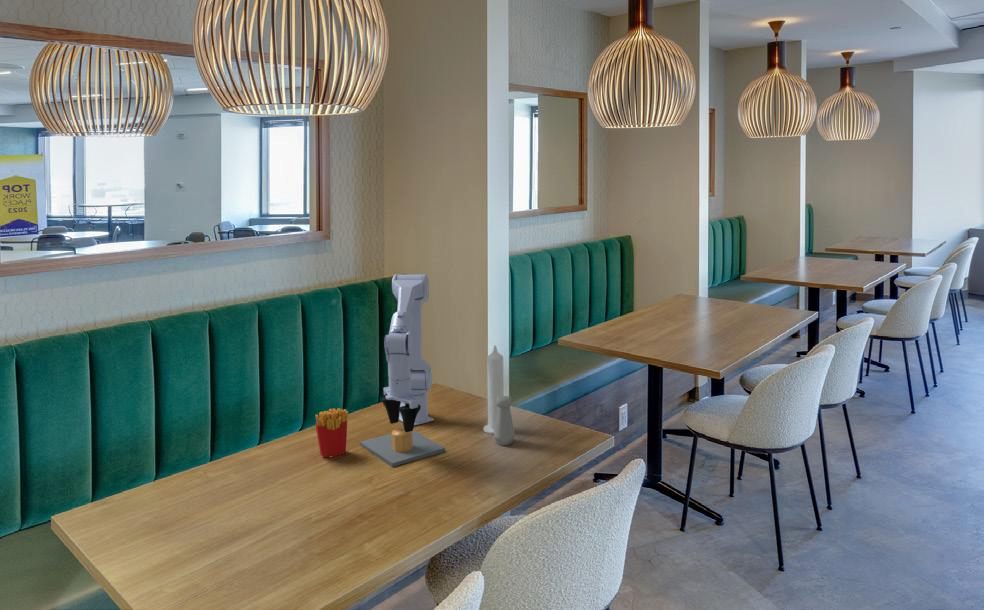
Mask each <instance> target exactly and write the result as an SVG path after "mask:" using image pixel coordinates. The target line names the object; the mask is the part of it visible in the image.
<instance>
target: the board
mask: <svg viewBox="0 0 984 610" xmlns="http://www.w3.org/2000/svg"><path fill="white" fill-rule="evenodd" d="M412 434H413V448H412V449H411V450H409V451H406V452H396V451H394V450H393V449H392V437H391V435H392V432H391V433H388V434H384V435H380V436H376V437H373V438H368V439H364V440H362V441H359V442H358V443H359V446H360V445H361V446H363V447H364V448H365V450H366V449H367V450H368V452H369V451H370V452H371V453H370V452H369V453H370V454H372V453H373V454H374V456H375V455H376V457H377V458H378V457H379V458H378V459H379V460H381V461H383V462H384V463H386V464H387V465H389V466H390V467H392V468H393V466H394V467H396V466H400V464H401V465H404V464H407V462H408V463H410V462H414V461H418V460H421V459H424V458H428V457H431V456H434V455H437V454H441V453H445V452H446V447H444V446H443V445H441V444H439V443H437V442H435V441H434V440H432V439H430V438H428V437H426V436H425V435H424V434H421V433H419V432H418V431H415V430H414V429H413V431H412ZM361 446H360V447H361ZM363 447H362V448H363ZM364 448H363V449H364ZM367 450H366V451H367ZM373 454H372V455H373ZM403 463H404V464H403Z"/></svg>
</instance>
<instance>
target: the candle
mask: <svg viewBox="0 0 984 610" xmlns="http://www.w3.org/2000/svg"><path fill="white" fill-rule="evenodd" d="M492 349H493V350H492V352H491V353H490V354H489V355H487V356H486V359H487V360H486V361H487V362H486V363H487V369H486V370H487V372H486V373H487V377H486V378H487V424H486V425H484V426H483V431H484V432H485V433H487V434H490V435H494V430H495V424H496V418H497V412H498V406H497V405H496V399H497V398H498V397H500V396H505V395H504V384H505V383H504V356H503V355H502V354H500V352H498V348H497V345H495V344H494V345H493V348H492Z"/></svg>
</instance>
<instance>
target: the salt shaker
mask: <svg viewBox="0 0 984 610" xmlns="http://www.w3.org/2000/svg"><path fill="white" fill-rule="evenodd" d="M496 405H497V406H498V412H497V418H496V424H495V430H494V434H493V438H494V440H495V443H496V444H497V445H499V446H509V445H511V444H513V441H514V439H515V436H516V435H515V434H516V433H515V428H514V425H513V424H514V423H513V419H512V412H511V406H512V405H513V400H512V398H511V397H510V396H507V395H504V396H500V397H498V398H497V399H496Z"/></svg>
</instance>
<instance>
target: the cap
mask: <svg viewBox="0 0 984 610" xmlns="http://www.w3.org/2000/svg"><path fill="white" fill-rule="evenodd" d="M391 433H392V435H391V437H392V449H393V450H394V451H396V452H406V451H409V450H411V449H412V448H413V434H412V431H410V432H405V430H404V427H403V428H401V427H400V428H397V429H394V430H392V432H391Z"/></svg>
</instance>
